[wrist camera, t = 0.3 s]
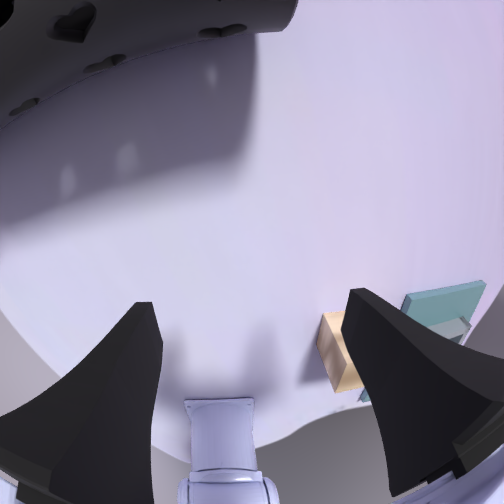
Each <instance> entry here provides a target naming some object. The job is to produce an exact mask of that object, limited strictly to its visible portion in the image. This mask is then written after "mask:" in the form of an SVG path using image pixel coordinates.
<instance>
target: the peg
mask: <svg viewBox="0 0 504 504" xmlns="http://www.w3.org/2000/svg"><path fill="white" fill-rule="evenodd" d="M344 314H345V311H339V312H331V313H323V317H322V322H321V326H320V331H319V335H318V339H317V343H316V345H317V348H318V350H319V353H320V356H321V358H322V361H323V363H324V366H325V369H326V371H327V374H328V376H329V379H330V382H331V384H332V387H333V390H334V392H335V393H339V392H344V391H348V390H352V389H357V388H361V387H364V385H363V383H362V381H361V379H360V377H359V374H358V372H357V370H356V368H355V366H354V364H353V362H352V360H351V358H350V356H349V354H348V351H347V348H346V346H345V343H344V340H343V336H342V333H341V330H340V329H341V326H342V322H343V318H344Z"/></svg>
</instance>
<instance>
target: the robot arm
mask: <svg viewBox="0 0 504 504" xmlns="http://www.w3.org/2000/svg"><path fill="white" fill-rule="evenodd" d="M340 330H341V333H342V336H343V340H344V343H345V346H346V348H347V351H348V354H349V356H350V358H351V360H352V362H353V364H354V366H355V368H356V370H357V372H358V374H359V377H360V379H361V381H362V383H363V385H364V387H365V389H366V391H367V393H368V395H369V398H370V400H371V403H372V405H373V409H374V412H375V415H376V418H377V421H378V425H379V428H380V433H381V437H382V441H383V445H384V451H385V455H386V461H387V468H388V477H389V490H390V492H391V495H392V497H395V496H398V495H400V494H402V493H404V492H406V491H408V490H410V489H412V488H414V487H416V486H418V485H420V484H422V483H424V482H426V481H427V483H428V485H427V486H425V487H423V488H421V489H419V490H417V491H415V492H414V493H412V494H410V495H407V496H405V497H403V498H401V499H399V500H397V501H395V502H392V503H390V504H504V359H501V358H497V357H494V356H490V355H487V354H483V353H480V352H477V351H475V350H472V349H470V348H467V347H465V346H462V345H460V344H458V343H455V342H453V341H451V340H449V339H447V338H445V337H443V336H441V335H439V334H437V333H436V332H434V331H432V330H430V329H429V328H427V327H425V326H424V325H422V324H420V323H419V322H417V321H415V320H414V319H412V318H411V317H409V316H408V315H406V314H405V313H403V312H402V311H400V310H399V309H397V308H396V307H394V306H393V305H391V304H390V303H388V302H387V301H385V300H384V299H382V298H381V297H379V296H378V295H376V294H374V293H373V292H371V291H369V290H368V289H366V288H357V289H350V293H349V298H348V302H347V306H346V310H345V314H344V318H343V322H342V326H341V329H340ZM162 352H163V341H162V338H161V334H160V331H159V327H158V323H157V320H156V316H155V312H154V308H153V304H152V302H136V303H135V304H134V305H133V306H132V307H131V308H130V309H129V310H128V311H127V313H126V314H125V315H124V316H123V317H122V318H121V319H120V321H119V322H118V323H117V324H116V325H115V326H114V327H113V328H112V329H111V331H110V332H109V333H108V334H107V335H106V336H105V337H104V338H103V340H102V341H101V342H100V343H99V344H98V345H97V346H96V347H95V348H94V349H93V350H92V351H91V352H90V353H89V354H88V355H87V356H86V357H85V358H84V359H83V360H82V361H81V362H80V363H79V364H78V365H77V366H75V367H74V368H73V369H72V370H71V371H70V372H69V373H67V374H66V375H65V376H64V377H63V378H62V379H60V380H59V381H58V382H56V383H55V384H54V385H52V386H51V387H50V388H48V389H47V390H46V391H44V392H43V393H42V394H40V395H39V396H37V397H35V398H34V399H33V400H31V401H29V402H28V403H26V404H24V405H22V406H21V407H19V408H17V409H15V410H13V411H11V412H10V413H7V414H5V415H3V416H1V417H0V470H2V471H3V472H5V473H6V474H8V475H9V476H11V477H13V478H14V479H16V480H18V481H19V482H18V487H17V486H15V485H13V484H12V483H10V482H8V481H7V480H5V479H3V478H2V477H0V504H154V498H153V489H152V477H151V424H152V416H153V410H154V404H155V399H156V393H157V388H158V382H159V377H160V372H161V365H162ZM184 406H185V409H186V411H187V414H188V417H189V419H190V422H191V424H192V426H191V472H190V473H189V474H190V475H189V478H190V480H189V478H183V480H182V481H180V482H179V484H178V493H177V495H178V496H177V502H178V504H279V497H278V492H277V489H276V486H275V484H274V483H273V482H272V481H271V480H270V479H269V478H267V477H262V472H261V471H258V469H257V462H256V455H255V448H254V440H253V433H252V431H253V412H254V400H253V399H252V398H241V399H222V400H185V401H184Z"/></svg>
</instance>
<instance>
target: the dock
mask: <svg viewBox="0 0 504 504" xmlns="http://www.w3.org/2000/svg"><path fill="white" fill-rule="evenodd" d="M485 287H486V283H485V282H483V281H482V280H480V281H475V282H471V283H466V284H461V285H456V286H451V287H446V288H440V289H435V290H429V291H423V292H417V293H411V294H407V296H406V298H405V301H404V304H403V306H402V309H401V311H402V312H403V313H405V314H406V315H408V316H409V317H411V318H412V319H414V320H415V321H417V322H419V323H420V324H422V325H424V326H425V327H427V328H429V329H430V330H432V331H434V332H436V333H437V334H439V335H441V336H443V337H445V338H447V339H449V340H451V341H453V342H455V343H458V344H460V345H461V344H462V342H463V340H464V339H465V337H466V335H467V333H468V332H469V330H470V328H471V324H470V323H469V321H470V319H471V317H472V315H473V313H474V311H475V309H476V307H477V305H478V302H479V300H480V298H481V296H482V294H483V291H484V289H485ZM360 398H361V400H362V402H367V401H370V398H369V395H368V393H367V391H366V389H365V390H364V391H363V393H362V395H361V397H360Z"/></svg>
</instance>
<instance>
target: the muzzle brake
mask: <svg viewBox="0 0 504 504" xmlns="http://www.w3.org/2000/svg"><path fill="white" fill-rule="evenodd" d="M297 4H298V0H0V130H1V129H2V128H3V127H5V126H6V125H7V124H9V123H10V122H12V121H13V120H14V119H16V118H17V117H19V116H20V115H22V114H23V113H25V112H26V111H28V110H29V109H31V108H32V107H34V106H36V105H37V104H39V103H40V102H42V101H44V100H46V99H47V98H49V97H51V96H52V95H54V94H56V93H58V92H60V91H62V90H63V89H65V88H67V87H69V86H71V85H73V84H75V83H77V82H79V81H81V80H83V79H86V78H88V77H90V76H92V75H94V74H97V73H99V72H101V71H104V70H106V69H109V68H111V67H114V66H116V65H119V64H121V63H124V62H127V61H130V60H133V59H136V58H138V57H142V56H145V55H148V54H151V53H154V52H158V51H161V50H165V49H169V48H172V47H176V46H180V45H185V44H189V43H194V42H198V41H204V40H209V39H215V38H221V37H227V36H234V35H243V34H252V33H264V32H279V31H283V30H284V29H285V28H286V27H287V26H288V24H289V23H290V21H291V19H292V18H293V16H294V13H295V10H296V7H297Z"/></svg>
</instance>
